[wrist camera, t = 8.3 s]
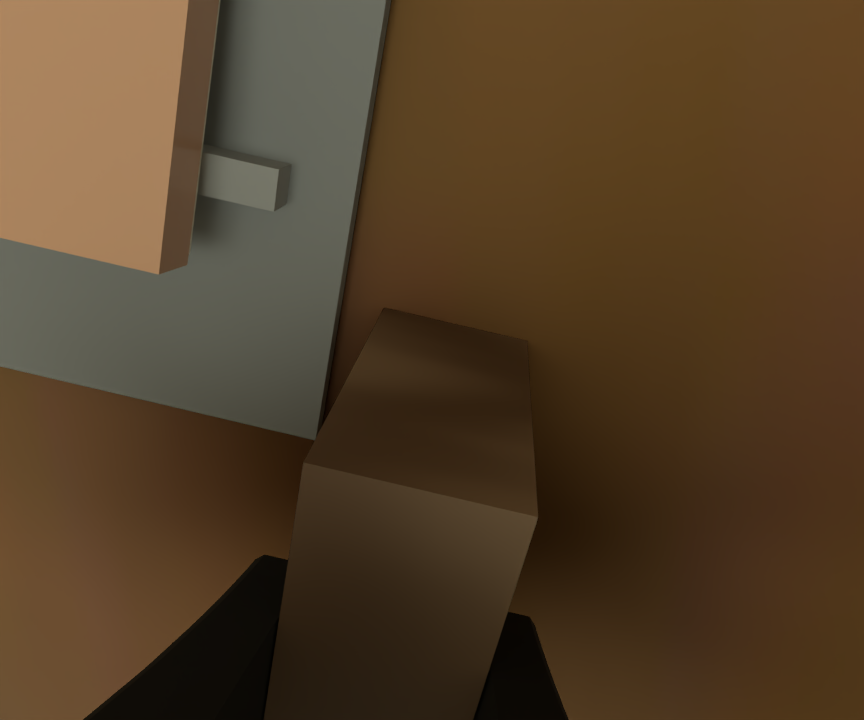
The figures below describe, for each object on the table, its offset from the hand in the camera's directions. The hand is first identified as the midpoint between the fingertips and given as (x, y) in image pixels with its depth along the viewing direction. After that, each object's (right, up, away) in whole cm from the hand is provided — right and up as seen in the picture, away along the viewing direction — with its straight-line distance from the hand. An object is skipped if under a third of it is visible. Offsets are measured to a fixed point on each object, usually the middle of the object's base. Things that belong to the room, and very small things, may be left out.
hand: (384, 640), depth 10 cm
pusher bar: (0, +1, +3) cm, 4 cm away
